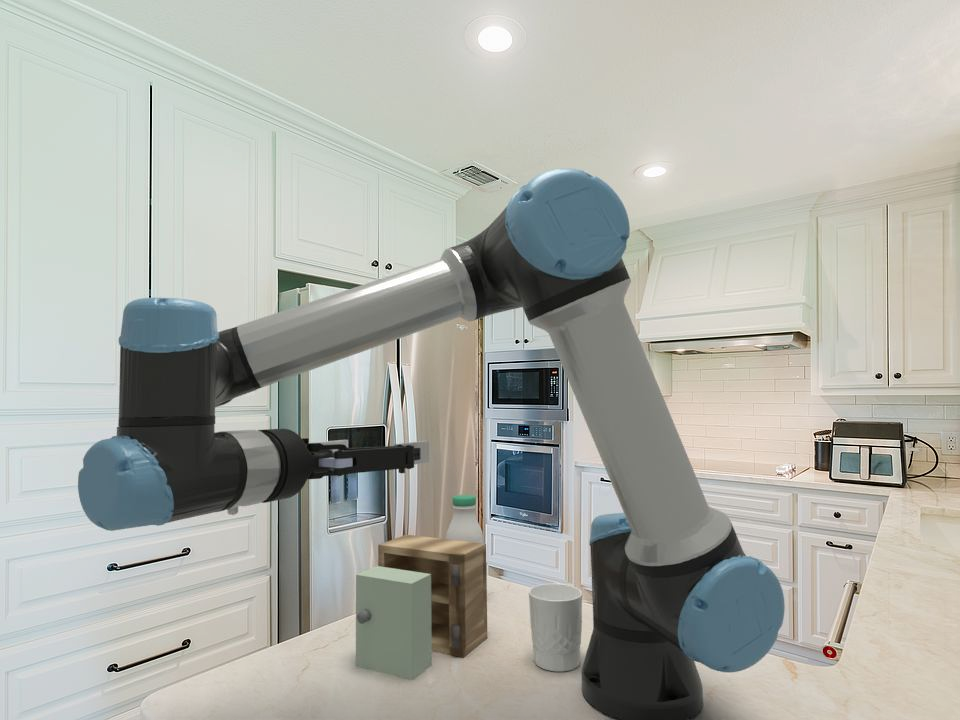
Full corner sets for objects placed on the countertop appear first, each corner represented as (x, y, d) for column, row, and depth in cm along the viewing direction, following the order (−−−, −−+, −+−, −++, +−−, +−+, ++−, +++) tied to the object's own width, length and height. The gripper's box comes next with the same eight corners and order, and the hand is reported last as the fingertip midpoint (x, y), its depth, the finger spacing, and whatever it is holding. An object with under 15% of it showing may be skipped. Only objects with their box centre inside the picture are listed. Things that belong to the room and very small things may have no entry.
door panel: (431, 665, 81) (431, 574, 83) (407, 684, 76) (406, 586, 77) (377, 652, 86) (377, 565, 87) (350, 669, 81) (350, 576, 82)
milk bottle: (437, 602, 108) (436, 497, 109) (461, 591, 114) (460, 492, 116) (469, 610, 103) (468, 500, 105) (492, 598, 110) (491, 494, 111)
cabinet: (487, 637, 91) (486, 543, 92) (460, 659, 83) (459, 556, 84) (406, 621, 98) (406, 534, 99) (375, 640, 90) (375, 545, 92)
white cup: (563, 680, 77) (561, 604, 77) (519, 662, 82) (517, 592, 83) (594, 660, 82) (592, 590, 83) (550, 645, 88) (549, 580, 88)
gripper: (179, 496, 63) (316, 474, 82) (351, 512, 51) (464, 482, 70) (181, 429, 63) (316, 423, 82) (351, 430, 52) (463, 422, 71)
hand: (384, 450), depth 76 cm, fingers open, 13 cm apart
